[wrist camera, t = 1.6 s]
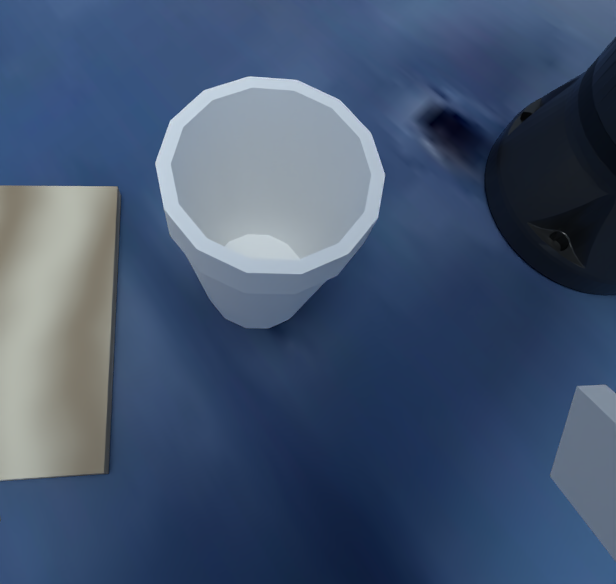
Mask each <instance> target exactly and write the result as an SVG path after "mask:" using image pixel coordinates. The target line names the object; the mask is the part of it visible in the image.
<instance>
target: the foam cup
mask: <svg viewBox="0 0 616 584" xmlns="http://www.w3.org/2000/svg"><path fill="white" fill-rule="evenodd" d="M155 164H156V170H157V175H158V180H159V185H160V190H161V196H162V201H163V206H164V211H165V215H166V220H167V224H168V229H169V234H170V236H171V237H172V239H173V240H174V241H175V242H176V243H177V245H178V246H179V247H180V248H181V250H182V251H183V252H184V253H185V255H186V257H187V258H188V260H189V262H190V264H191V266H192V268H193V270H194V271H195V273H196V275H197V277H198V279H199V281H200V283H201V284H202V286H203V288H204V290H205V292H206V294H207V296H208V297H209V299H210V300H211V302H212V303H213V304H214V306H215V307H216V308H217V309H218V311H219V312H220V313H221V314H222V316H223V317H224V318H225V319H227V320H229V321H231V322H234V323H236V324H238V325H240V326H242V327H244V328H268V329H269V328H271V327H273V326H275V325H278V324H280V323H282V322H284V321H286V320H289V319H290V318H291V317H292V316H293V315H294V314H295V313H296V312H297V311H298V310H299V309H300V308H301V307H302V306H303V305H304V304H305V303H306V301H307V300H308V299H309V298H310V297H311V296H312V295H313V294H314V293H315V292H316V291H317V290H318V289H319V288H320V287H321V286H322V285H323V284H324V283H325V282H326V281H327V280H328V279H331V278H333V277H335V276H337V275H338V274H339V273H340V272H341V271H342V269H343V268H344V267H345V266H346V264H347V263H348V262H349V261H350V259H351V258H352V257H353V256H354V255H355V253H356V252H357V251H358V250H359V248H360V247H361V246H362V245H363V243H364V242H365V240H366V239H367V237H368V235H369V233H370V231H371V230H372V228H373V226H374V224H375V222H376V220H377V219H378V214H379V208H380V202H381V197H382V191H383V185H384V179H385V173H384V170H383V167H382V164H381V161H380V158H379V155H378V152H377V149H376V146H375V143H374V140H373V137H372V134H371V132H370V131H369V130H368V129H367V128H366V127H365V126H364V125H363V124H362V123H361V122H360V121H359V120H358V119H357V118H356V117H355V115H354V114H353V113H352V112H351V111H350V110H349V109H348V108H347V107H346V106H345V105H344V104H343V103H342V102H341V101H340V100H339V99H337V98H335V97H332V96H330V95H328V94H326V93H324V92H322V91H319V90H317V89H315V88H313V87H311V86H309V85H307V84H304V83H302V82H300V81H298V80H291V79H277V78H264V77H250V76H248V77H245V78H242V79H239V80H236V81H233V82H229V83H226V84H223V85H220V86H217V87H213V88H210V89H207V90H204V91H203V92H202V93H201V94H199V95H198V96H197V97H196V98H195V99H194V100H193V101H192V102H191V103H189V104H188V105H187V106H186V107H185V108H184V109H183V110H182V111H181V112H179V113H178V114H177V115H176V116H175V117H174V118H173V119H172V120H171V121H170V123H169V126H168V128H167V131H166V134H165V137H164V140H163V143H162V145H161V148H160V151H159V154H158V157H157V160H156V162H155Z"/></svg>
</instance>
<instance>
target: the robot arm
mask: <svg viewBox="0 0 616 584" xmlns="http://www.w3.org/2000/svg"><path fill="white" fill-rule="evenodd" d="M485 186H486V194H487V199H488V203H489V206H490V209H491V212H492V215H493V217H494V219H495V221H496V224H497V225H498V227H499V229H500V231H501V232H502V234H503V235H504V237H505V239H506V240H507V241H508V243H509V244H510V245H511V246H512V248H513V249H514V250H515V251H516V252H517V253H518V254H519V255H520V256H521V257H522V258H523V259H524V260H525V261H526V262H527V263H528V264H530V265H531V266H532V267H533V268H535V269H536V270H537V271H539V272H540V273H542V274H543V275H545V276H546V277H548V278H550V279H552V280H553V281H555V282H557V283H560V284H562V285H564V286H567V287H569V288H572V289H575V290H578V291H582V292H586V293H592V294H601V295H615V294H616V37H615V38H614V40H613V41H612V42H611V43H610V44H609V45H608V46H607V48H606V49H605V50H604V51H603V52H602V54H601V55H600V56H599V57H598V58H597V59H596V61H595V62H594V63H593V64H592V65H591V66H590V67H589V68H588V70H587V71H586V72H584V73H582V74H581V75H579V76H577V77H575V78H574V79H572V80H570V81H569V82H567V83H565V84H564V85H562V86H560V87H558V88H557V89H555V90H553V91H552V92H550V93H548V94H547V95H545V96H544V97H542V98H540V99H538V100H536V101H535V102H533V103H532V104H530V105H528V106H527V107H526V108H524V109H523V110H522V111H521V112H520V113H519V114H518V115H516V116H515V117H514V119H513V120H512V121H511V122H510V123H509V125H508V126H507V127H506V129H505V130H504V131H503V133H502V134H501V135H500V136H499V138H498V139H497V140H496V142H495V144H494V145H493V147H492V150H491V152H490V154H489V157H488V161H487V165H486V173H485ZM550 477H551V478H552V479H553V481H554V482H555V483H556V485H557V486H558V487H559V489H560V490H561V491H562V492H563V494H564V495H565V496H566V498H567V499H568V500H569V502H570V503H571V504H572V505H573V507H574V508H575V509H576V511H577V512H578V513H579V515H580V516H581V517H582V518H583V520H584V521H585V522H586V524H587V525H588V526H589V528H590V529H591V530H592V531H593V533H594V534H595V535H596V537H597V538H598V539H599V541H600V542H601V543H602V544H603V546H604V547H605V548H606V550H607V551H608V552H609V554H610V555H611V556H612V557H613V559H614V560H615V561H616V393H615V392H613V391H612V390H611V389H610V388H609V387H608V386H607V385H590V386H577V387H576V391H575V394H574V397H573V401H572V404H571V407H570V411H569V414H568V417H567V420H566V424H565V427H564V430H563V434H562V437H561V440H560V444H559V447H558V450H557V454H556V457H555V460H554V464H553V467H552V470H551V474H550ZM0 521H1V518H0Z"/></svg>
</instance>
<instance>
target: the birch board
mask: <svg viewBox="0 0 616 584" xmlns="http://www.w3.org/2000/svg"><path fill="white" fill-rule="evenodd" d="M120 207H121V195H120V192H119V189H118V187H112V186H0V481H8V480H23V479H38V478H53V477H67V476H82V475H97V474H108V473H109V451H110V429H111V407H112V384H113V362H114V340H115V318H116V296H117V274H118V251H119V229H120Z"/></svg>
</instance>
